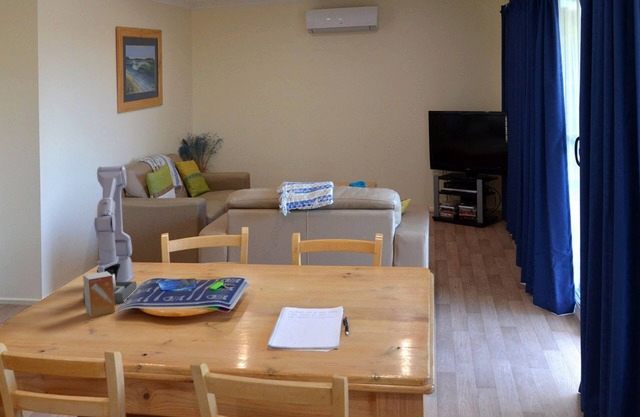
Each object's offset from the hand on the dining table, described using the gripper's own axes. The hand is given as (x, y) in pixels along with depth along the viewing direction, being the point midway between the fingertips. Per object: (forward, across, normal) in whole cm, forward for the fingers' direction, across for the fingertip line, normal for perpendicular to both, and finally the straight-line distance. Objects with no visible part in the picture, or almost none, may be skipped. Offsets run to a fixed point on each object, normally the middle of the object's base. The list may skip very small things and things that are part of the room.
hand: (110, 286), depth 256 cm
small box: (+4, +17, +3) cm, 18 cm away
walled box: (+4, 0, 0) cm, 4 cm away
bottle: (+2, 0, 0) cm, 2 cm away
